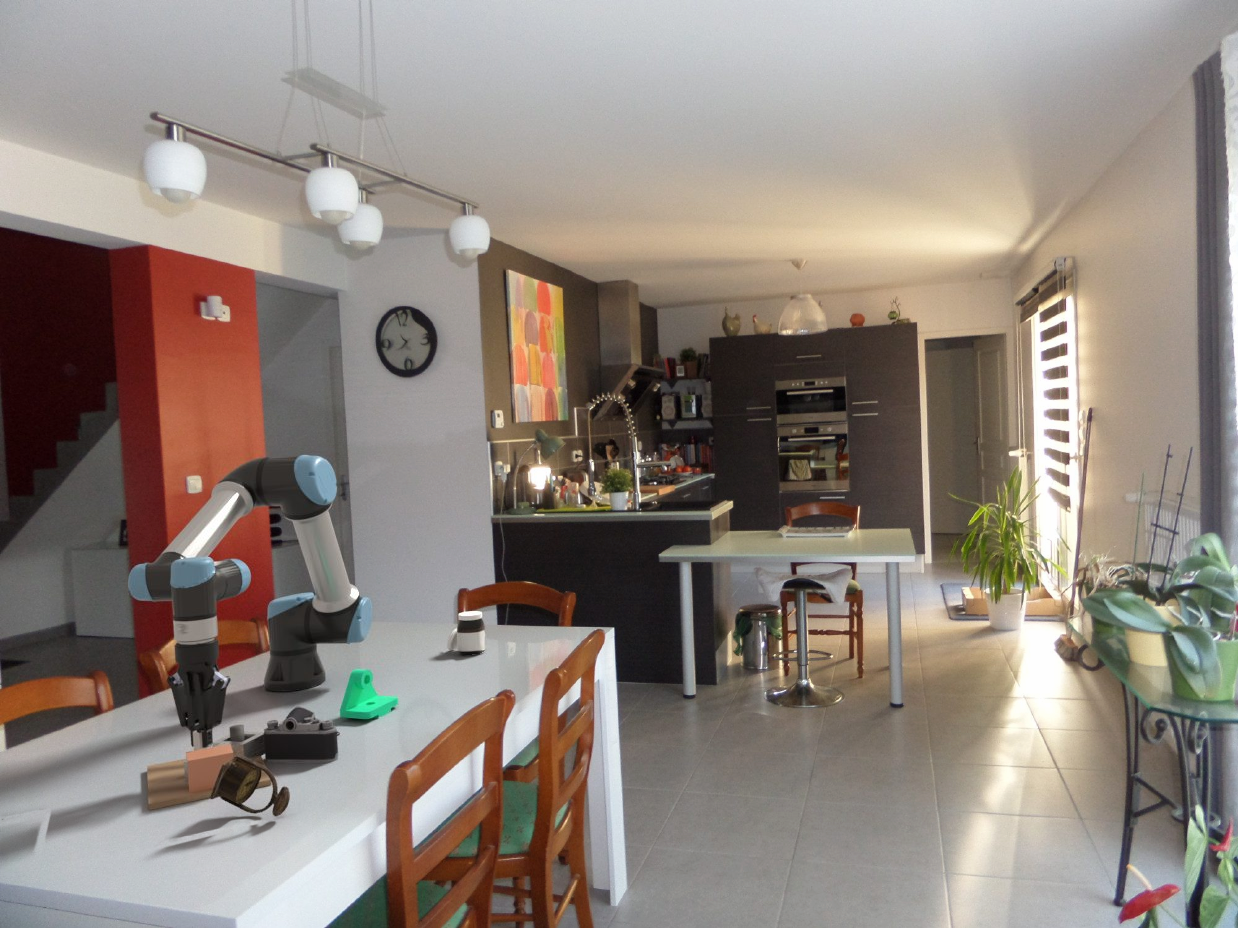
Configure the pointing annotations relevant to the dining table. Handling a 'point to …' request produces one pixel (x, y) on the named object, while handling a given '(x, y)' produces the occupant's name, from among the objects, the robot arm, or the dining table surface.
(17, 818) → the dining table surface
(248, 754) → the link
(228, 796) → the brass desk clock
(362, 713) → the camera mount
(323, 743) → the camera
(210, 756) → the block
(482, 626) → the spread jar
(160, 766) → the board
